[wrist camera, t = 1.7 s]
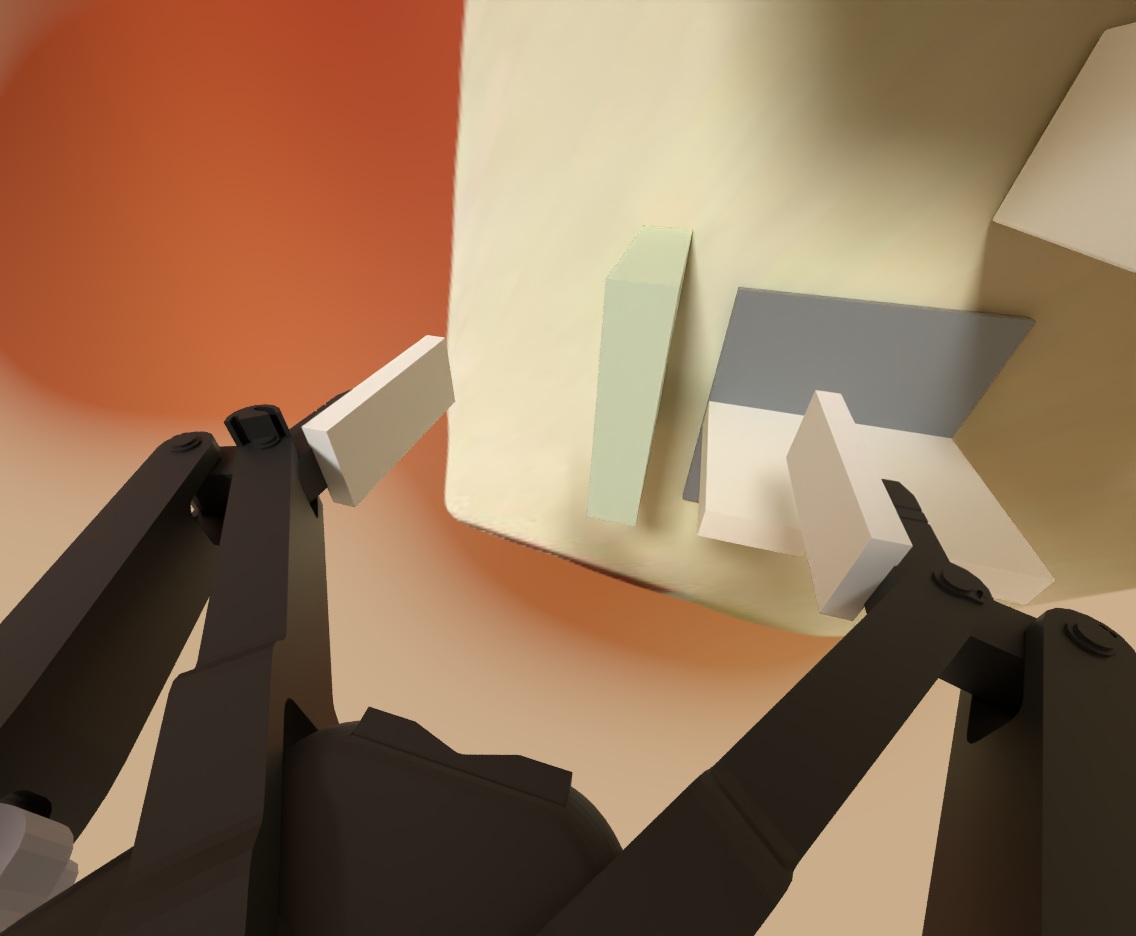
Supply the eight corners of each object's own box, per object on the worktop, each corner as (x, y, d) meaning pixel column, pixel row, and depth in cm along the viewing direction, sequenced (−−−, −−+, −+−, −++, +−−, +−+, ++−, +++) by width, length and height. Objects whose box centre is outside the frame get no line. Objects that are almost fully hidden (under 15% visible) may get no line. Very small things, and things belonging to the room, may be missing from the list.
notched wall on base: (683, 494, 39) (671, 614, 29) (738, 287, 28) (749, 374, 18) (877, 532, 36) (934, 679, 27) (1029, 317, 25) (1225, 441, 15)
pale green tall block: (643, 225, 27) (605, 278, 18) (692, 229, 26) (679, 286, 17) (620, 416, 36) (586, 516, 27) (656, 422, 35) (635, 526, 26)
